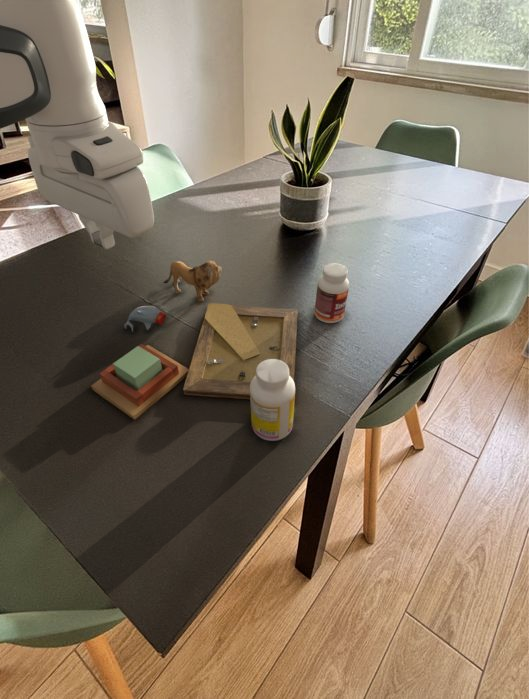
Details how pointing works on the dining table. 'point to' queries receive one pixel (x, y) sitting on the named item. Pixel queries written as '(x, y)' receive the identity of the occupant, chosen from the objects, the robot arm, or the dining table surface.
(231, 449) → the dining table surface
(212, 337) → the picture frame
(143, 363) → the green block
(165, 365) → the wooden framed tray
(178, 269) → the lion figurine
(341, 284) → the pill bottle
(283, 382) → the supplement bottle
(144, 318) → the figurine
